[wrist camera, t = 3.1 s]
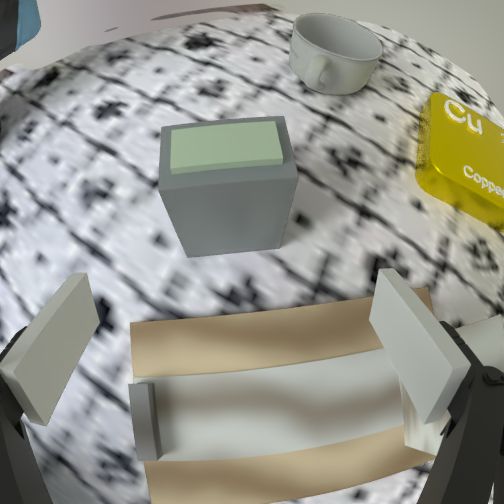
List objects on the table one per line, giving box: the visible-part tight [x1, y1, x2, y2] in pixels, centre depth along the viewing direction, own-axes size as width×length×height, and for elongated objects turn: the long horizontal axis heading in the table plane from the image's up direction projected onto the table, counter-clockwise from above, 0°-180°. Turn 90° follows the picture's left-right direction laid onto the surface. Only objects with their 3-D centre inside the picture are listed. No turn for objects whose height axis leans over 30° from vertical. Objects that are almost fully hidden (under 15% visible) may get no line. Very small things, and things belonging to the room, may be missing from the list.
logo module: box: [158, 116, 299, 258], centre depth 24 cm, size 5×8×12 cm, turn 97°
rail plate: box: [128, 287, 504, 504], centre depth 18 cm, size 16×26×11 cm, turn 97°
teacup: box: [289, 13, 383, 95], centre depth 33 cm, size 14×11×8 cm
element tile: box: [415, 92, 504, 233], centre depth 31 cm, size 15×15×5 cm
